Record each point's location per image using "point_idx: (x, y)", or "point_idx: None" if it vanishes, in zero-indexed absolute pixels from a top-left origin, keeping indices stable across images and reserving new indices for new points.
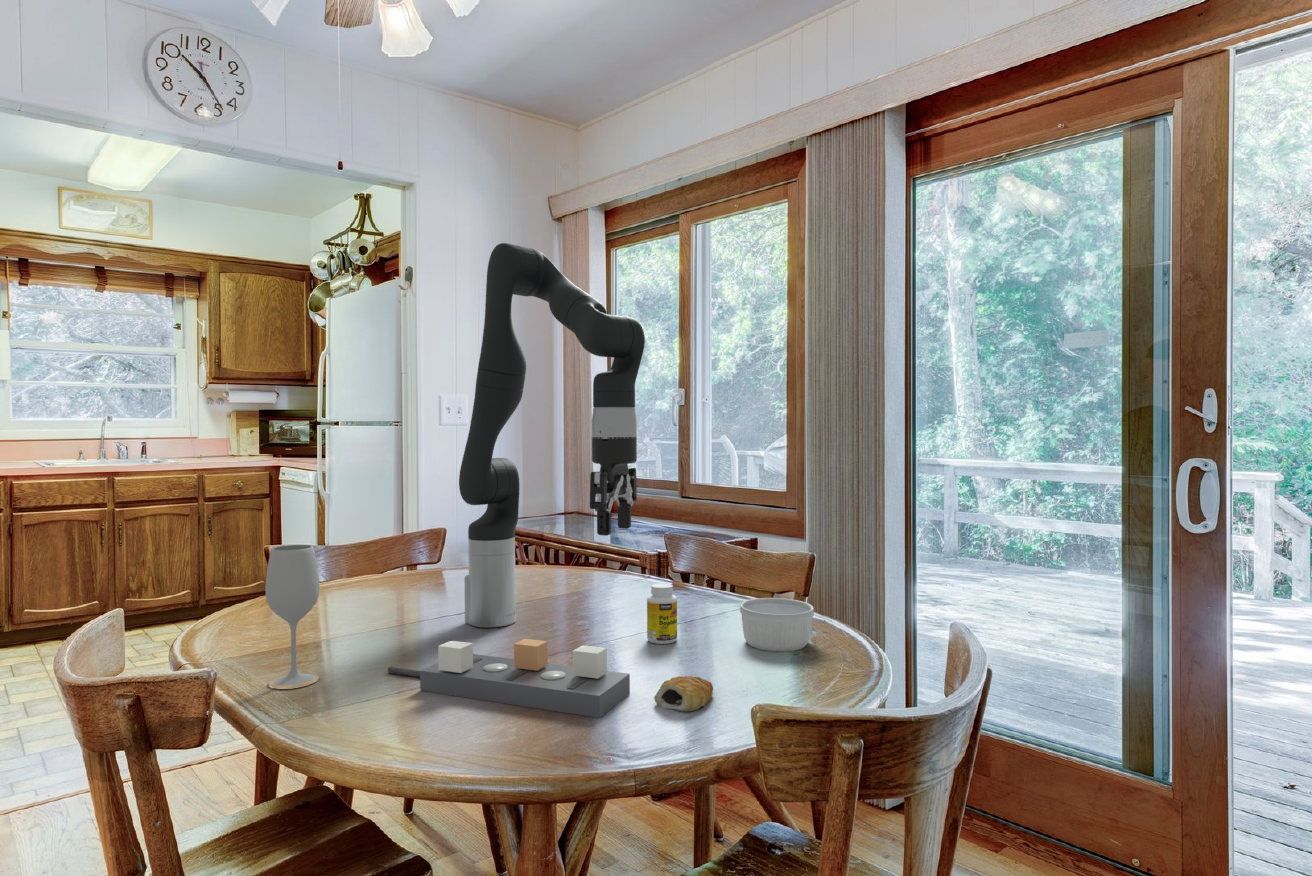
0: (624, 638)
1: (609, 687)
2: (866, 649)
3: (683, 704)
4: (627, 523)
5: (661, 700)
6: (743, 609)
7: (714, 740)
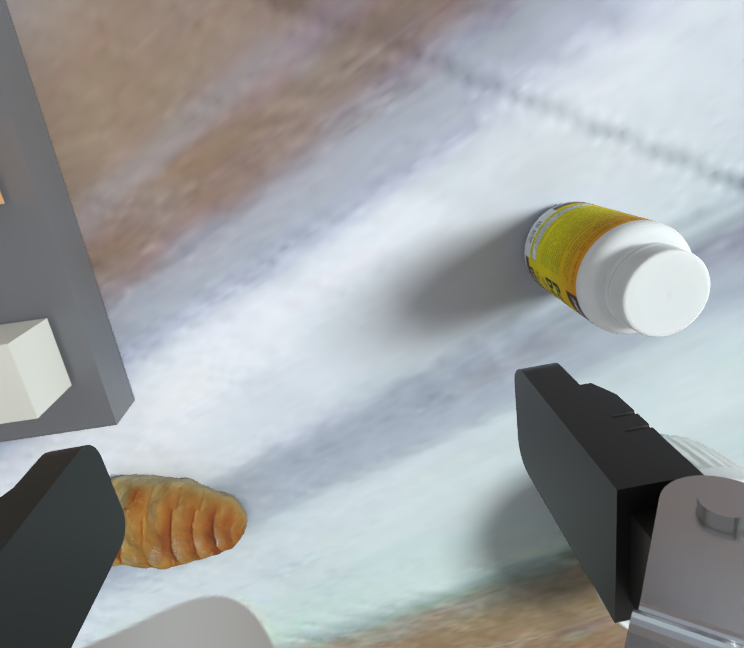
0: (548, 123)
1: (3, 438)
2: None
3: None
4: (536, 469)
5: None
6: None
7: None
